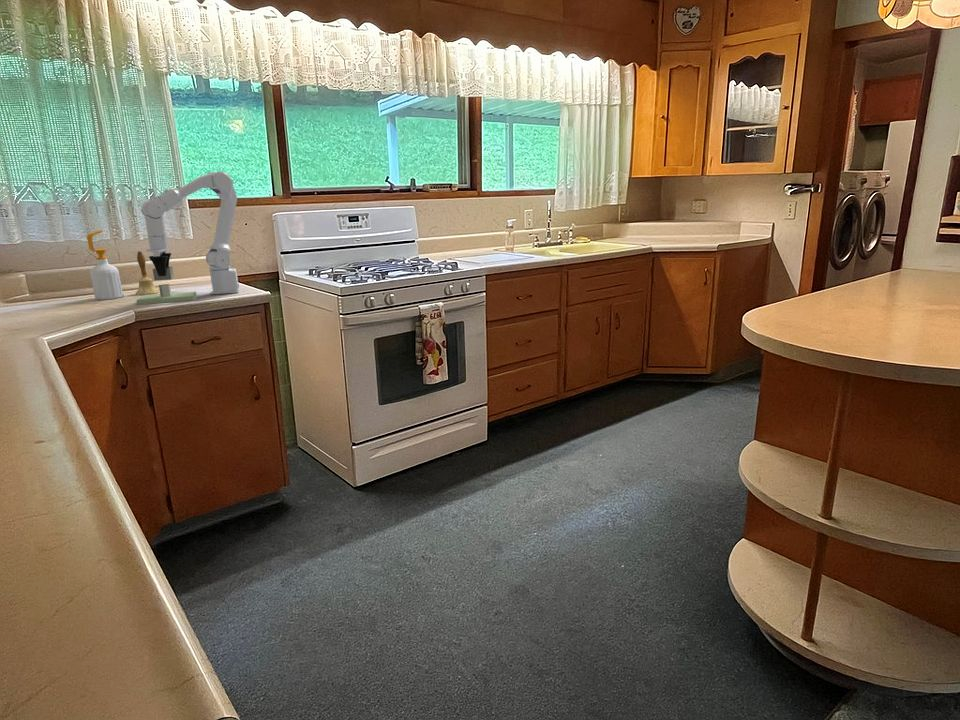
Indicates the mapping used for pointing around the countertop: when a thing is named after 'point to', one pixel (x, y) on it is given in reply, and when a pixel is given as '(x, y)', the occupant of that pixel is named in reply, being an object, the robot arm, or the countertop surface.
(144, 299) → the post board
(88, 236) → the soap bottle
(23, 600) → the countertop surface
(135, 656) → the countertop surface
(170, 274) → the collar
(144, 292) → the hand bell
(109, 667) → the countertop surface
